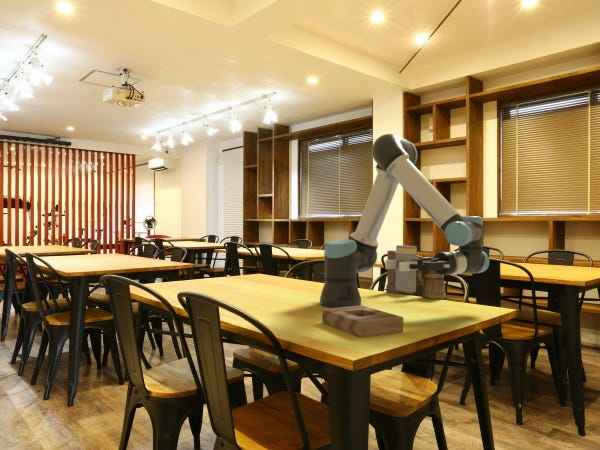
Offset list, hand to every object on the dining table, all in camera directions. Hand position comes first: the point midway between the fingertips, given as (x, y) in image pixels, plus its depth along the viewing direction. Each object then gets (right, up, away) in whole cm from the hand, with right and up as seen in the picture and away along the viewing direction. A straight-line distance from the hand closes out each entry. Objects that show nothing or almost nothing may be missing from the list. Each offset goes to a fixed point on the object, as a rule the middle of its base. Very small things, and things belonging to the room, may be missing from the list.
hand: (392, 265), depth 140 cm
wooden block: (+14, -17, +54) cm, 58 cm away
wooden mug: (+23, -17, +44) cm, 52 cm away
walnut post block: (-11, -17, -9) cm, 22 cm away
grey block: (+4, -8, +2) cm, 9 cm away
